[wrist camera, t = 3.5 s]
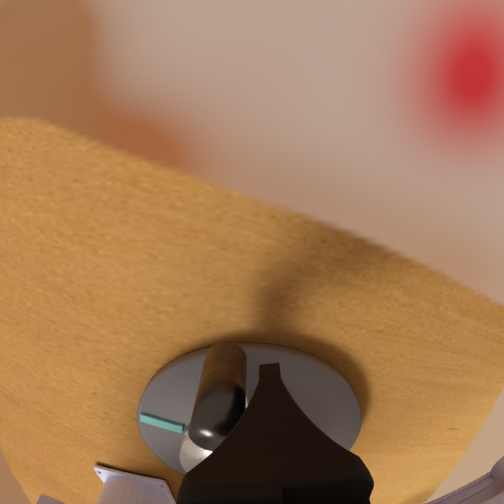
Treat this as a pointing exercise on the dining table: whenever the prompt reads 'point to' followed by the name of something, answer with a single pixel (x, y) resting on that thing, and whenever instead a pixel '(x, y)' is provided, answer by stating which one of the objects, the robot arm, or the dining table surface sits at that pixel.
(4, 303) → the dining table surface
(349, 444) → the dial base
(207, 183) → the dining table surface
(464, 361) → the dining table surface
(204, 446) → the dial
